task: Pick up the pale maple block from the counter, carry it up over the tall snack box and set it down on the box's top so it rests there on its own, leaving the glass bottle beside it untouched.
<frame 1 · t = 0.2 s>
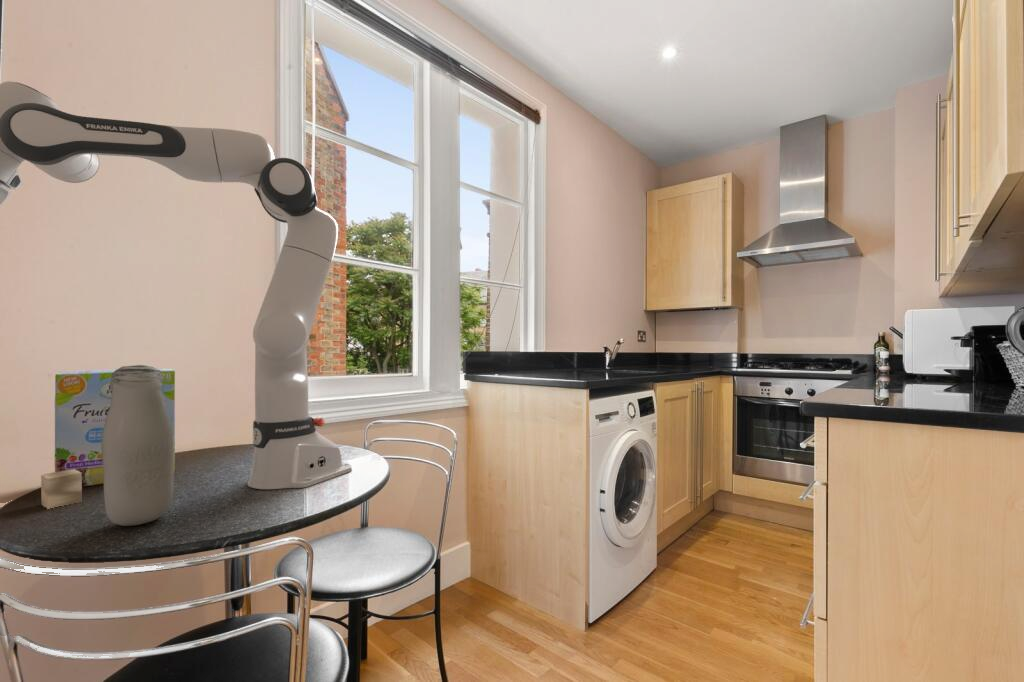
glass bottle: (139, 523, 84), on the table
maple block: (61, 503, 95), on the table
snack box: (119, 479, 112), on the table
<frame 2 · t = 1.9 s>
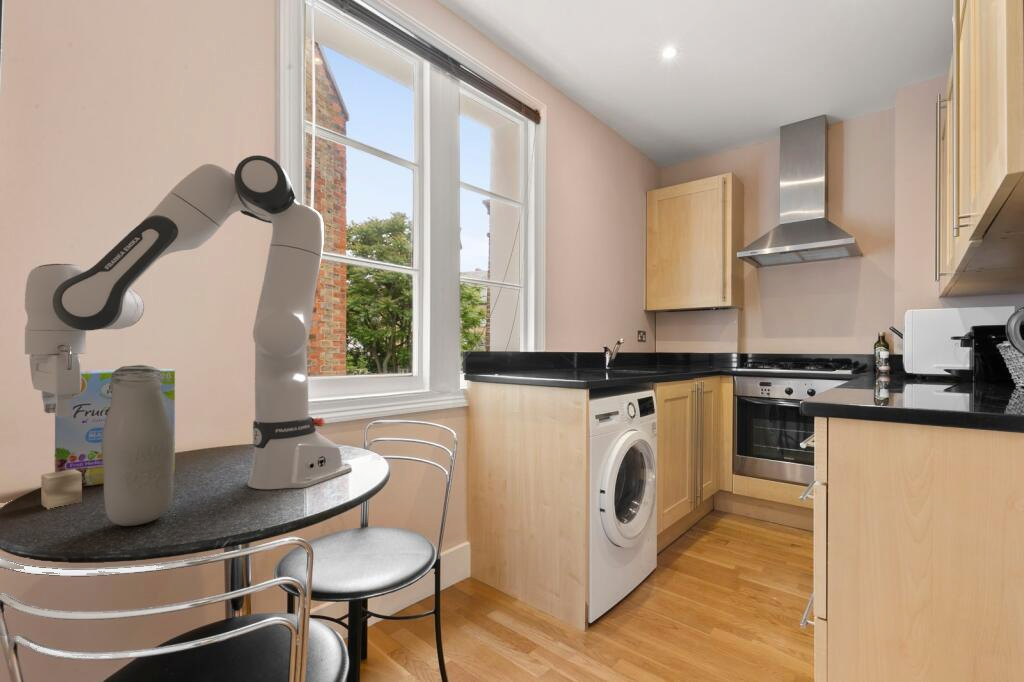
hand: (56, 414, 95), 18 cm above the table, tool pointing down, fingers open, 8 cm apart
nothing on the table moved.
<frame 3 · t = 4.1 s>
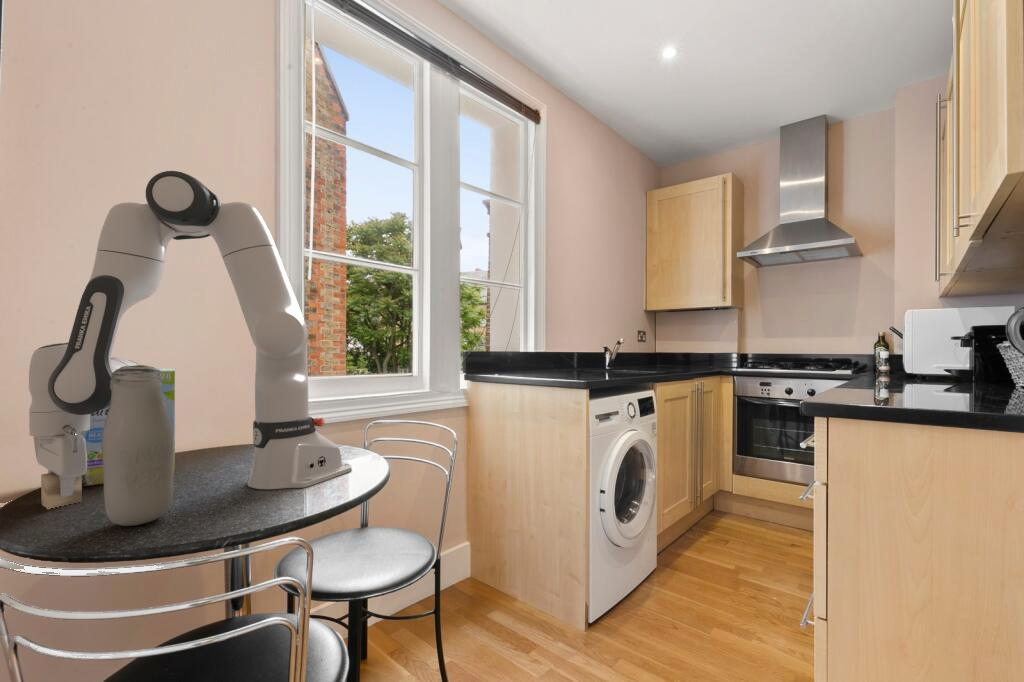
hand: (61, 492, 95), 2 cm above the table, tool pointing down, fingers closed on maple block, 5 cm apart
maple block: (61, 503, 95), on the table, touching gripper
everything else where it was.
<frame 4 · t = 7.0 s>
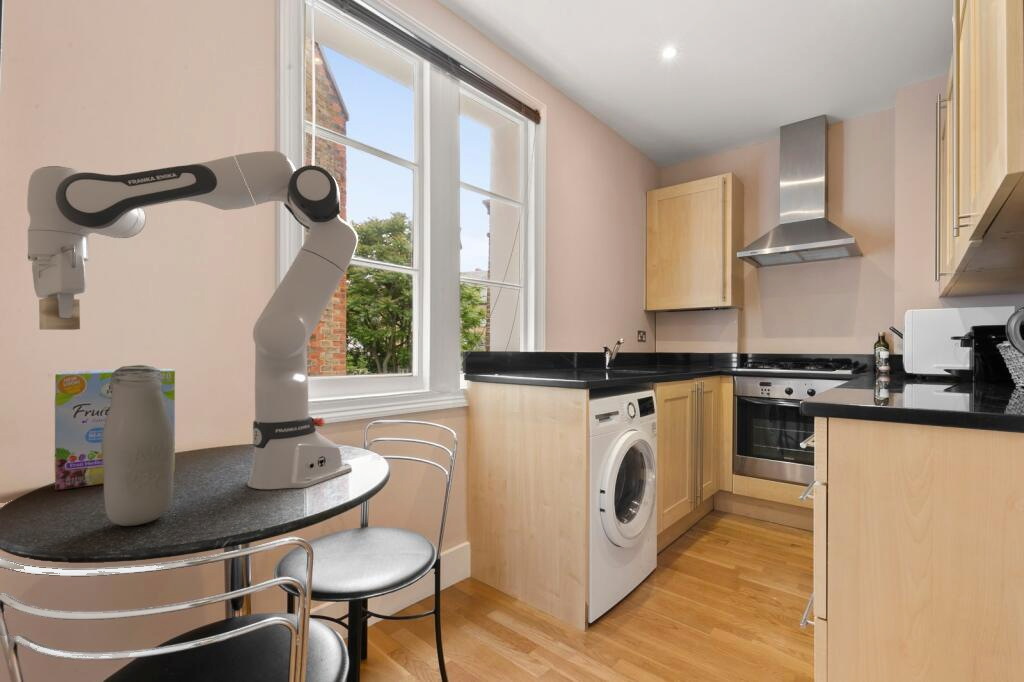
hand: (60, 318, 95), 37 cm above the table, tool pointing down, fingers closed on maple block, 5 cm apart
maple block: (59, 329, 95), point 35 cm above the table, touching gripper
everything else where it was.
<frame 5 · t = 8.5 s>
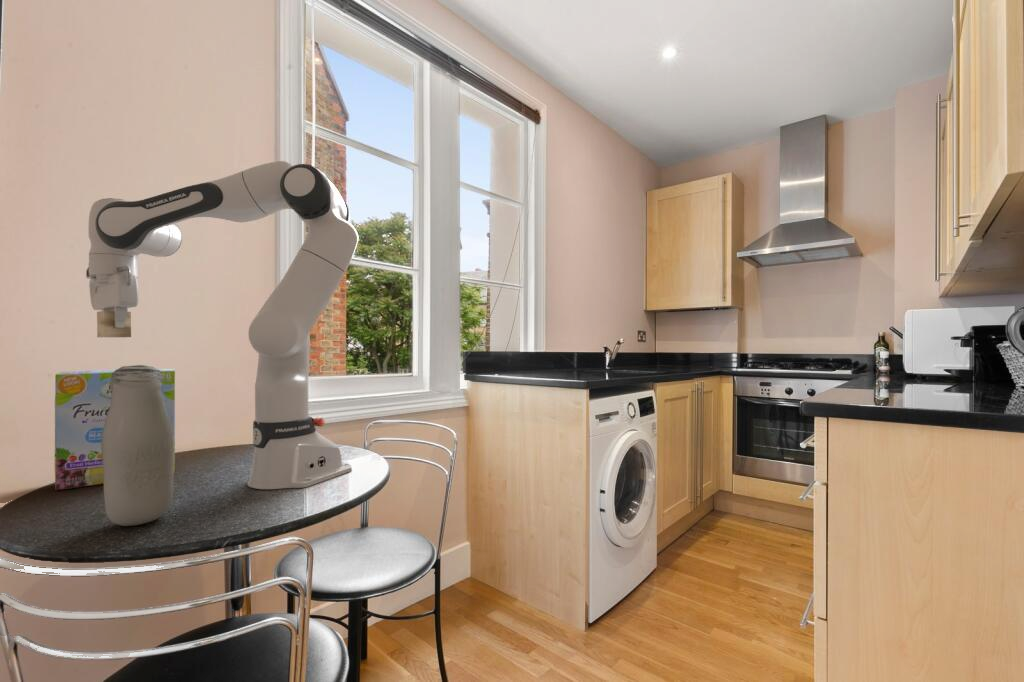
hand: (114, 328, 112), 36 cm above the table, tool pointing down, fingers closed on maple block, 5 cm apart
maple block: (114, 337, 112), point 33 cm above the table, touching gripper
everything else where it was.
when the fingers open (30 cm above the table, at t = 9.9 s): maple block drops 2 cm, resting on snack box.
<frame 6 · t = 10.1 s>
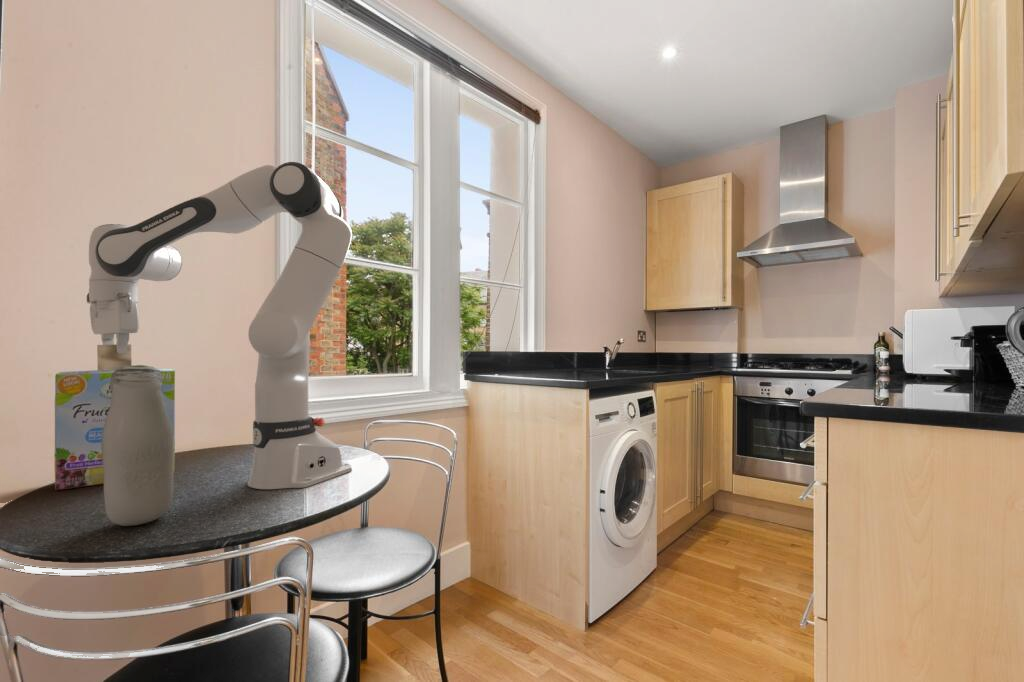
hand: (115, 353, 112), 30 cm above the table, tool pointing down, fingers open, 7 cm apart
maple block: (114, 370, 112), point 26 cm above the table, touching snack box
snack box: (119, 479, 112), on the table, touching maple block
everything else where it was.
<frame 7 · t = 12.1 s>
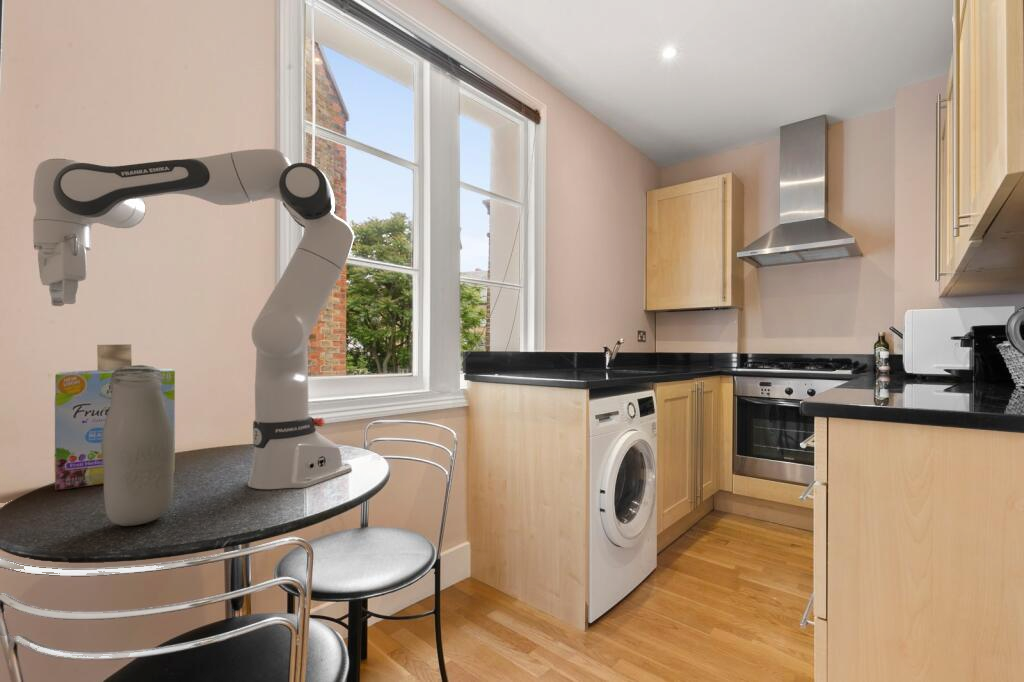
hand: (63, 305, 99), 40 cm above the table, tool pointing down, fingers open, 8 cm apart
nothing on the table moved.
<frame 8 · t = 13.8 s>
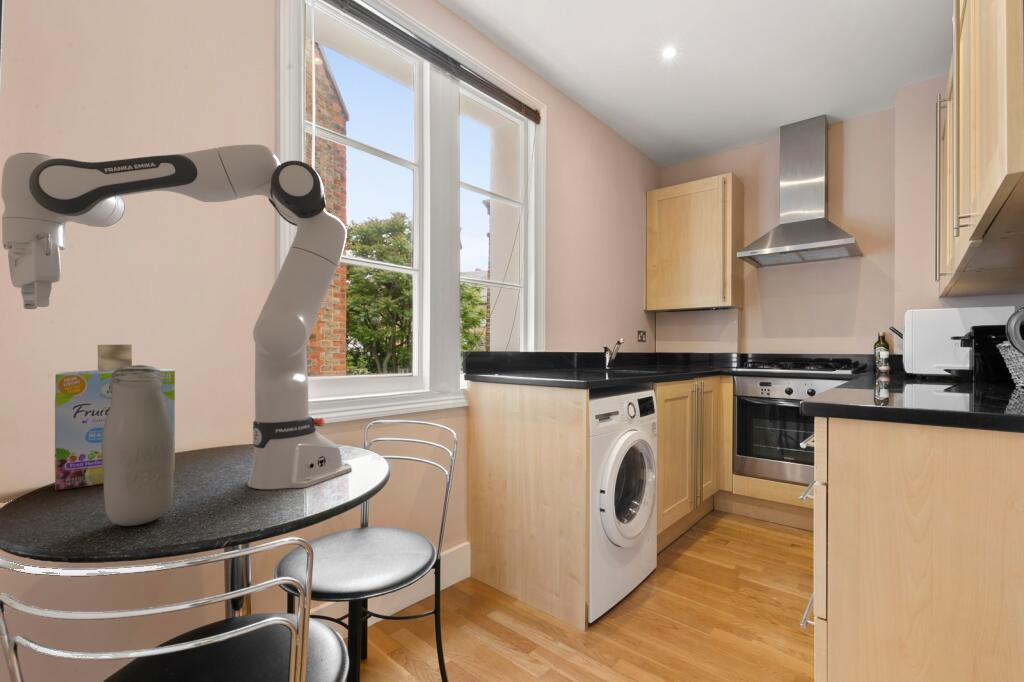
hand: (36, 308, 94), 39 cm above the table, tool pointing down, fingers open, 8 cm apart
nothing on the table moved.
at the end: maple block inside the target area on the snack box (0.6 cm from its centre), point 25.9 cm above the snack box's base; the gripper is holding nothing; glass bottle moved 0.2 cm from its start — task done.
